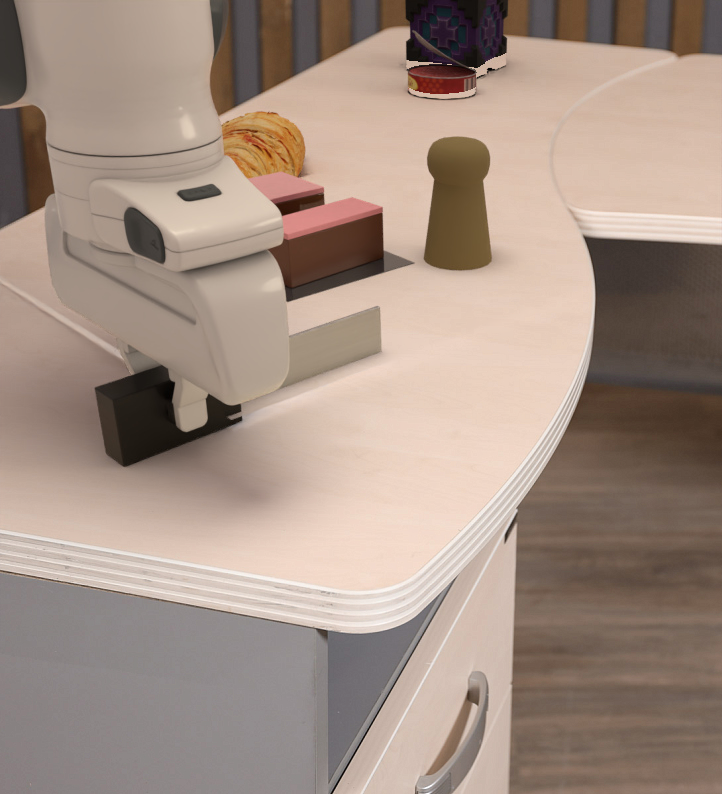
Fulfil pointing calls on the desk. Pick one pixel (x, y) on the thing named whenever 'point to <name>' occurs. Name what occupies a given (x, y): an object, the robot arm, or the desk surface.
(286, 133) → the croissant
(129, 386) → the knife
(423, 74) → the canned food
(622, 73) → the desk surface
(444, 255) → the cork
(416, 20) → the energy cube
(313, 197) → the cake
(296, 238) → the cake slice
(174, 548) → the desk surface
